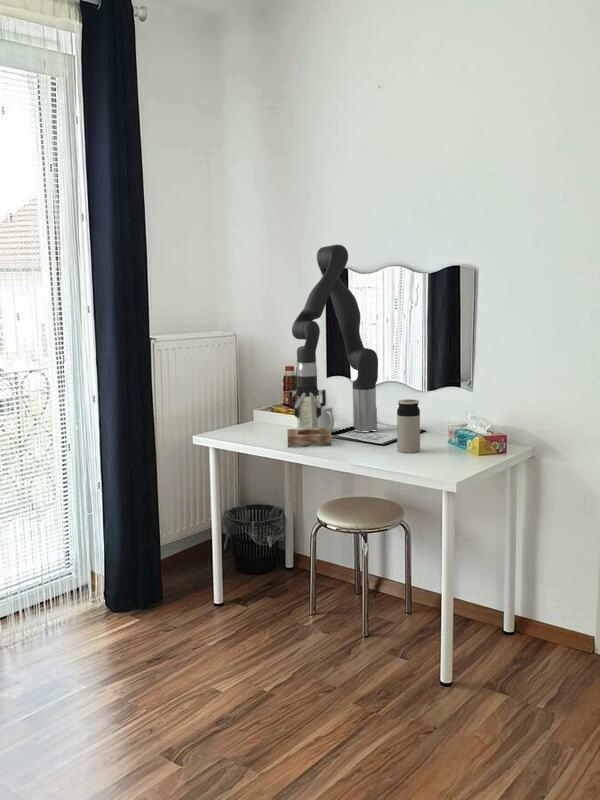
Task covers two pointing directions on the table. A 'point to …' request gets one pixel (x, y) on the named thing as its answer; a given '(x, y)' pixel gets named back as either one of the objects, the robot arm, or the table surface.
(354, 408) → the robot arm
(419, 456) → the table surface
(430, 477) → the table surface
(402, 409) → the travel mug
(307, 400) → the skincare box
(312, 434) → the socket board
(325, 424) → the mug
